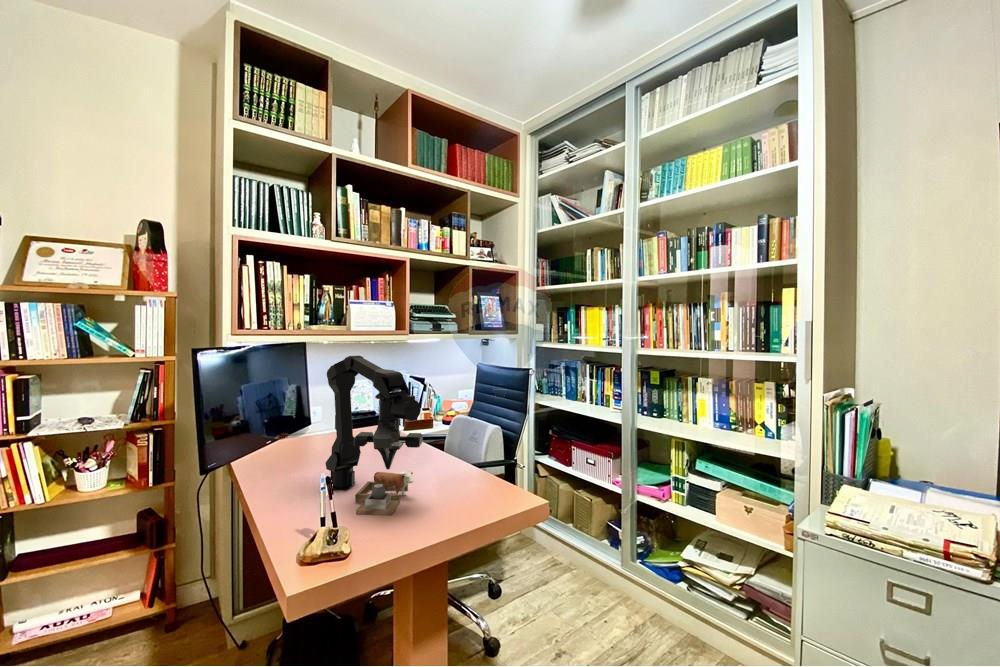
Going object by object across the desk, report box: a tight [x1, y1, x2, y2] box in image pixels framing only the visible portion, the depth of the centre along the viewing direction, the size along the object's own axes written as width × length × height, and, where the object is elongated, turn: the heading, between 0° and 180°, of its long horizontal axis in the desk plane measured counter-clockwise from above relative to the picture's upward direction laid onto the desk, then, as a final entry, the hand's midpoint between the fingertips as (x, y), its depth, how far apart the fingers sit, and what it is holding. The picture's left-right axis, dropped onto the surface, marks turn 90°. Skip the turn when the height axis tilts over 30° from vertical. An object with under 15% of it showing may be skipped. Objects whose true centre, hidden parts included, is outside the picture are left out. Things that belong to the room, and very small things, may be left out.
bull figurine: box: [373, 471, 414, 497], centre depth 126 cm, size 4×13×8 cm, turn 75°
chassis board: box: [354, 480, 409, 516], centre depth 122 cm, size 13×18×4 cm
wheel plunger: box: [371, 484, 386, 499], centre depth 117 cm, size 4×4×3 cm
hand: (388, 469), depth 119 cm, fingers closed
